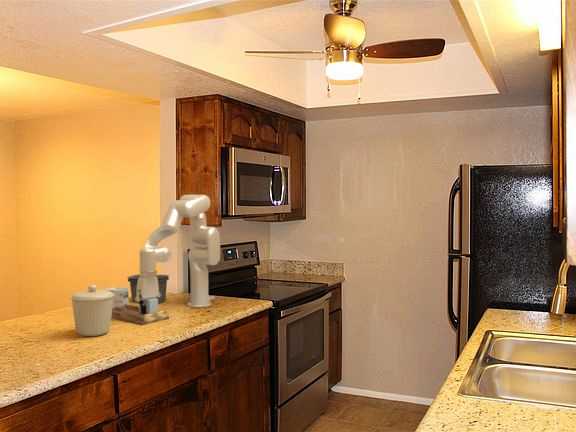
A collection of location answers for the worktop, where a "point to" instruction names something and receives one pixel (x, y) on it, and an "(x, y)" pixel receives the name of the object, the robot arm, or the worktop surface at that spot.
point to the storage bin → (161, 283)
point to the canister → (92, 311)
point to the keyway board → (137, 315)
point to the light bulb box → (119, 296)
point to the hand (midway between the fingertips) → (148, 312)
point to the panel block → (150, 306)
